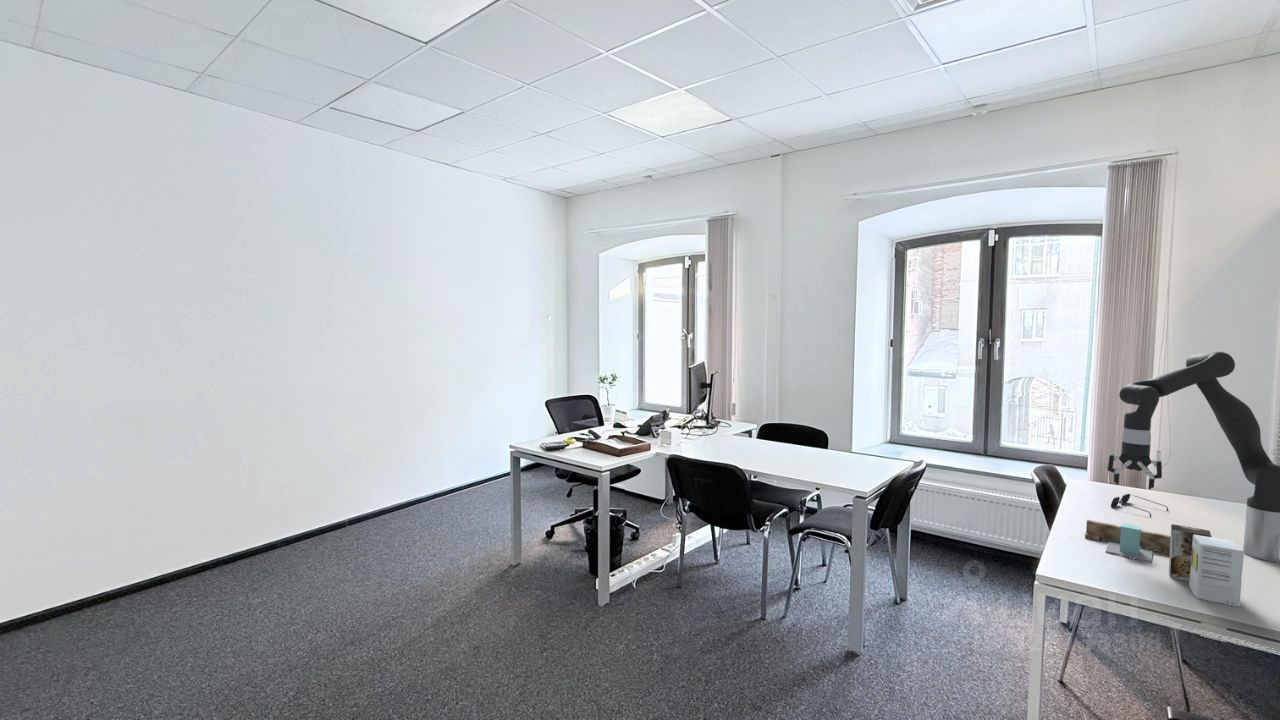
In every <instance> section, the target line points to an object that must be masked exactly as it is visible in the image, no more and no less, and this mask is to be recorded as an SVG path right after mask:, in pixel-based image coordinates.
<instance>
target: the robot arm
mask: <svg viewBox="0 0 1280 720" xmlns="http://www.w3.org/2000/svg"><path fill="white" fill-rule="evenodd" d="M1235 368H1236V362H1235V359H1234V357H1232V355H1230V354H1229V353H1227V352H1224V351H1211V352H1210V351H1209V352H1203V353H1197V354H1193V355H1190V356H1188V357H1187V358H1186V361H1185V367H1182V368H1179V369H1174V370H1171V371H1167V372H1164V373H1162V374H1159V375H1157V376H1155V377H1153V378H1150V379H1145V380H1140V381H1135V382H1131V383H1128V384H1126V385H1124V386H1122V388H1121V389H1120V390H1119V395H1118V396H1119V399H1120V400H1121V401H1122V402H1123V403H1124V404H1125V403H1126V404H1129V405H1133V406H1138V407H1137V408H1136V410H1133V411H1132V410H1131V411H1127V412H1126V413H1125V414H1124V420H1123V429H1122V437H1121V452H1120V455H1115V454H1113V453H1111V454H1110V455H1109V459H1108V464H1107V471H1108V472H1110V473H1113V482H1114V483H1115V484H1116V485H1120V475H1121V474H1120V473H1121V472H1122V471H1123V470H1124V469H1128V470H1129V471H1130V470H1131V471H1132V470H1134V471H1137V472H1141V471H1143V472H1144V473H1145V474H1146V475H1147V476H1148V477H1149V478H1148V488H1147V490H1152V489H1154V488H1155V480H1157V479H1162V478H1163V472H1162V471H1163V465H1162V464H1163V462H1162V460H1160V459H1158V460H1153V459H1151V458H1150V457H1151V455H1150V454H1151V444H1152V443H1151V441H1152V436H1151V435H1152V433H1151V427H1152V424H1151V423H1152V417H1153V415H1154V413H1155V410H1156V408H1157V406H1158V404H1159V403H1160V402H1159V401H1160V398H1163V397H1167V396H1168V395H1171V394H1173V393H1176V392H1177V391H1178V392H1179V391H1180V390H1183V389H1186V388H1188V387H1191V386H1193V385H1196V386H1197V388H1198V389H1199V391H1200V392H1201V393H1202V395H1203V396H1204V398H1205V400H1206V401H1207V403H1208V405H1209V407H1210V408H1211V410H1212V412H1213V414H1214V416H1215V419H1216V421H1217V423H1218V424H1219V426H1220V428H1221V429H1222V431H1223V433H1224V435H1225V436H1226V439H1227V440H1228V442H1229V443H1230V445H1231V447H1232V448H1233V450H1234V452H1235V454H1236V456H1237V458H1238V459H1237V460H1238V462H1239V464H1240V467H1241V470H1242V471H1243V472H1242V473H1243V475H1244V478H1246V480H1247V481H1248V482H1250V483H1251V484H1252V485H1254V492H1253V494H1252V496H1249V497H1248V498H1247V500H1246V508H1245V509H1246V511H1245V520H1244V521H1245V522H1244V535H1243V536H1244V537H1243V546H1242V547H1243V549H1242V550H1243V551H1244V555H1247V556H1250V557H1252V558H1256V559H1259V560H1265V561H1269V562H1271V561H1272V562H1274V563H1279V562H1280V465H1277V464H1276V463H1274V462H1273V461H1272V460H1271V459H1270V457H1269V456H1268V455H1267V453H1266V450H1265V449H1264V447H1263V444H1262V440H1261V439H1262V438H1261V435H1262V434H1261V433H1262V432H1261V427H1260V424H1259V422H1258V420H1257V418H1256V417H1255V414H1254V413H1253V411H1252V409H1251V408H1250V406H1248V404H1246V403H1245V402H1244V401H1242V400H1241V399H1240V398H1238V397H1236V396H1235V395H1234V394H1232V393H1231V392H1229V391H1227V390H1226V389H1225V387H1223V386H1222V384H1221V383H1220V381H1219V380H1218V378H1223V377H1226V376H1229V375H1230V374H1231V373H1233V372H1234V370H1235ZM1118 460H1119V461H1120V463H1121V464H1120V465H1119V466H1118V467H1117V468H1114V467H1113V466H1114V462H1117V461H1118ZM1151 464H1152V465H1153V466H1154V468H1156V473H1155V474H1153V472H1152V471H1151V470H1150V468H1149V466H1150V465H1151Z"/></svg>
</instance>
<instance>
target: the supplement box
mask: <svg viewBox="0 0 1280 720" xmlns="http://www.w3.org/2000/svg"><path fill="white" fill-rule="evenodd" d="M1244 556H1245V553H1244V551H1243V549H1242V548H1241V547H1240V546H1239V545H1238V544H1237V543H1236V541H1234V540H1229V539H1224V538H1217V537H1206V536H1200V535H1193V542H1192V556H1191V569H1190V582H1189V581H1188V582H1189V583H1188V587H1189V589H1190V590H1191V591H1192V594H1193V595H1194V597H1195V598H1196V599H1198V600H1202V601H1207V600H1208V602H1213V603H1217V602H1219V603H1218V604H1222V603H1224V604H1223V605H1227V604H1228V606H1231V605H1233V606H1232V607H1236V606H1237V607H1236V608H1240V606H1241V605H1240V604H1241V592H1242V582H1243V581H1242V577H1243V576H1242V575H1243V568H1244V558H1245V557H1244Z"/></svg>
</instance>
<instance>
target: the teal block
mask: <svg viewBox="0 0 1280 720" xmlns="http://www.w3.org/2000/svg"><path fill="white" fill-rule="evenodd" d="M1120 526H1121V537H1120V543H1119V544H1120V551H1122V552H1127V553H1131V554H1136V555H1139V549H1140V533H1141V530H1142V526H1140V525H1135V524H1130V523H1126V522H1121V525H1120Z"/></svg>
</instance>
